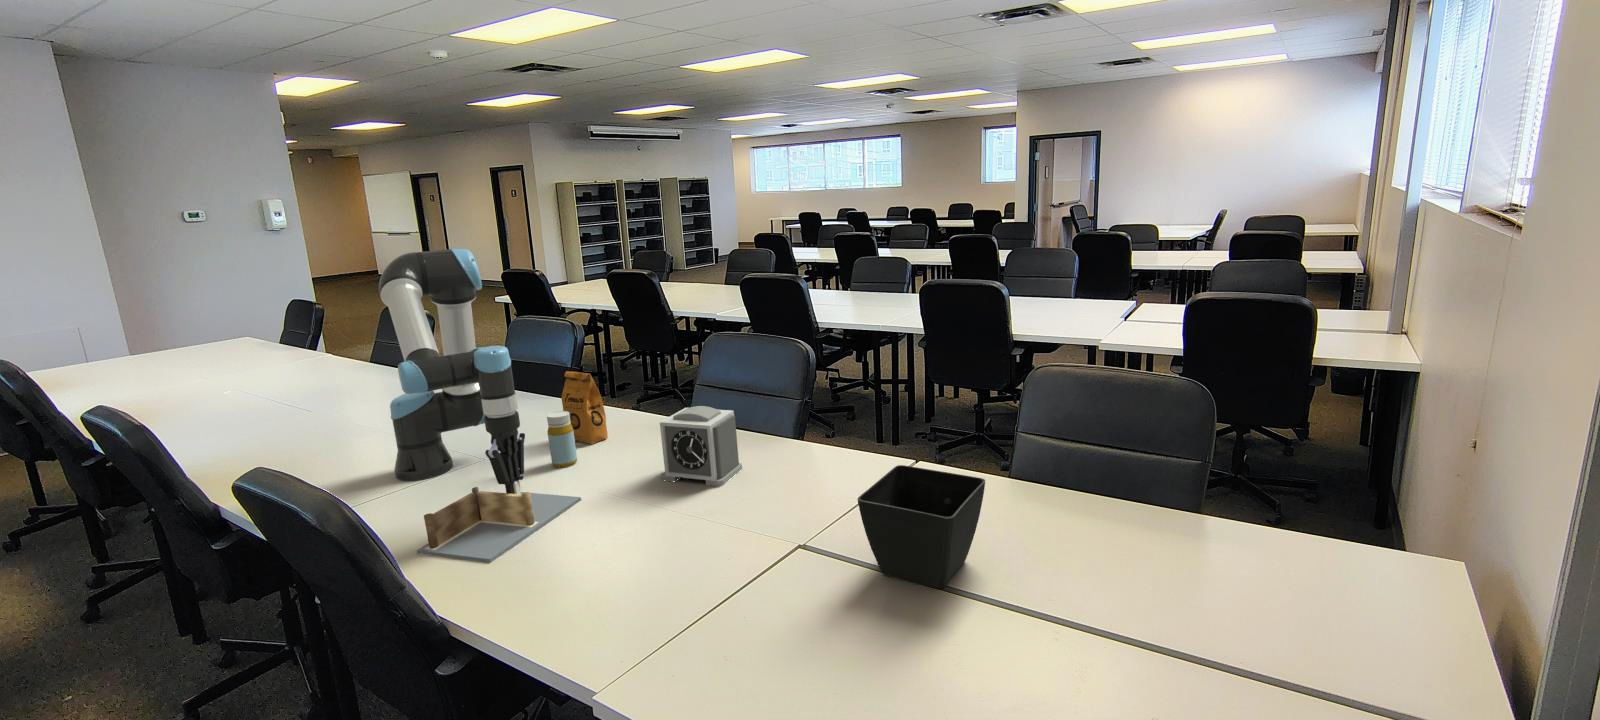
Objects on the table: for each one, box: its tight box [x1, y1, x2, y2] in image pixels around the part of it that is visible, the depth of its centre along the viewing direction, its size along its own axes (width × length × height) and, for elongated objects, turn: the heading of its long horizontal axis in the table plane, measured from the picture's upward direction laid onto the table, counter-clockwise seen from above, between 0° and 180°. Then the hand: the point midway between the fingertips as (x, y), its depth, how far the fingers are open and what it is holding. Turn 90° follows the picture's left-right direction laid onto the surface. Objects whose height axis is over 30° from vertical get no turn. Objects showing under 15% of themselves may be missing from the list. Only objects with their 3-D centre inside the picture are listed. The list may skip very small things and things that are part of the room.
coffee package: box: [560, 370, 609, 445], centre depth 236 cm, size 10×12×22 cm
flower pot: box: [857, 464, 986, 590], centre depth 145 cm, size 19×19×17 cm
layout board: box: [416, 491, 582, 564], centre depth 179 cm, size 33×20×1 cm, turn 161°
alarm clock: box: [659, 405, 743, 487], centre depth 201 cm, size 18×13×18 cm
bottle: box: [546, 410, 578, 468], centre depth 216 cm, size 7×7×15 cm
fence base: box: [423, 486, 481, 549], centre depth 173 cm, size 16×2×8 cm, turn 161°
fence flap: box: [477, 490, 535, 525], centre depth 177 cm, size 14×2×7 cm, turn 72°
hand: (515, 507), depth 180 cm, fingers closed
